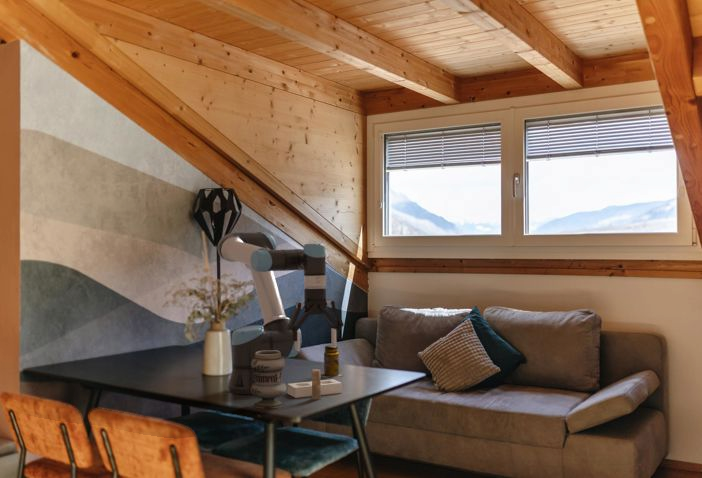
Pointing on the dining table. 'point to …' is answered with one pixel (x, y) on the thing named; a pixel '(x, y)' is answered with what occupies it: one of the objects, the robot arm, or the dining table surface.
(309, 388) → the hole block
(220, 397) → the dining table surface
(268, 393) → the apothecary jar
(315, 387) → the dowel
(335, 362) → the condiment
